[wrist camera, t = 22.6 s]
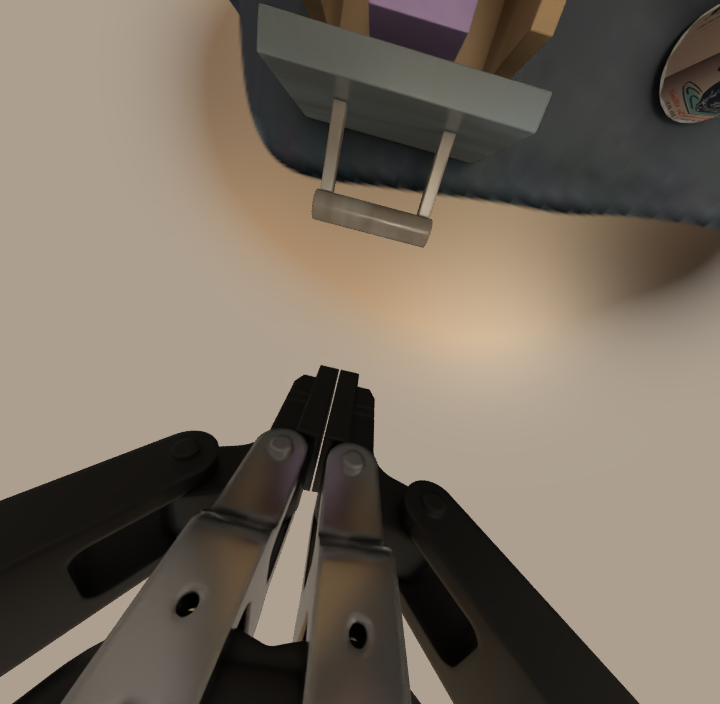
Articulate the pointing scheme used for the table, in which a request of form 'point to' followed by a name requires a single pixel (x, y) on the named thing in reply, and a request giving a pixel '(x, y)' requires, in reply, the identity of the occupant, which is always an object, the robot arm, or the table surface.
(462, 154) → the drawer
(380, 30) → the block
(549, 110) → the table surface
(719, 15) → the beer can
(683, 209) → the table surface
